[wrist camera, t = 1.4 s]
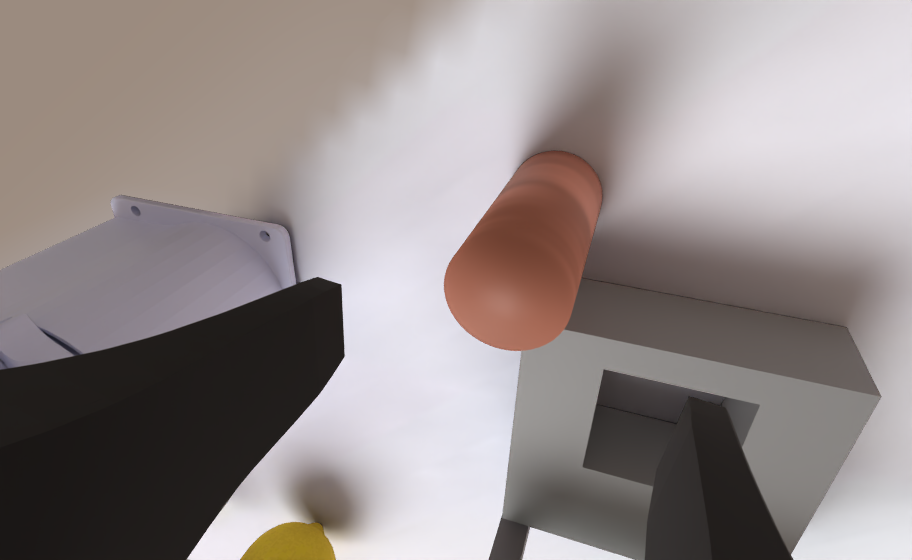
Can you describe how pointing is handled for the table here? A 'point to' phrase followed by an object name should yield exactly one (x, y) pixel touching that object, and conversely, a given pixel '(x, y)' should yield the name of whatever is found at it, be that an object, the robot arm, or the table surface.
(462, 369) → the table surface
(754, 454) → the socket block
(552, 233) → the peg
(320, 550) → the lemon
